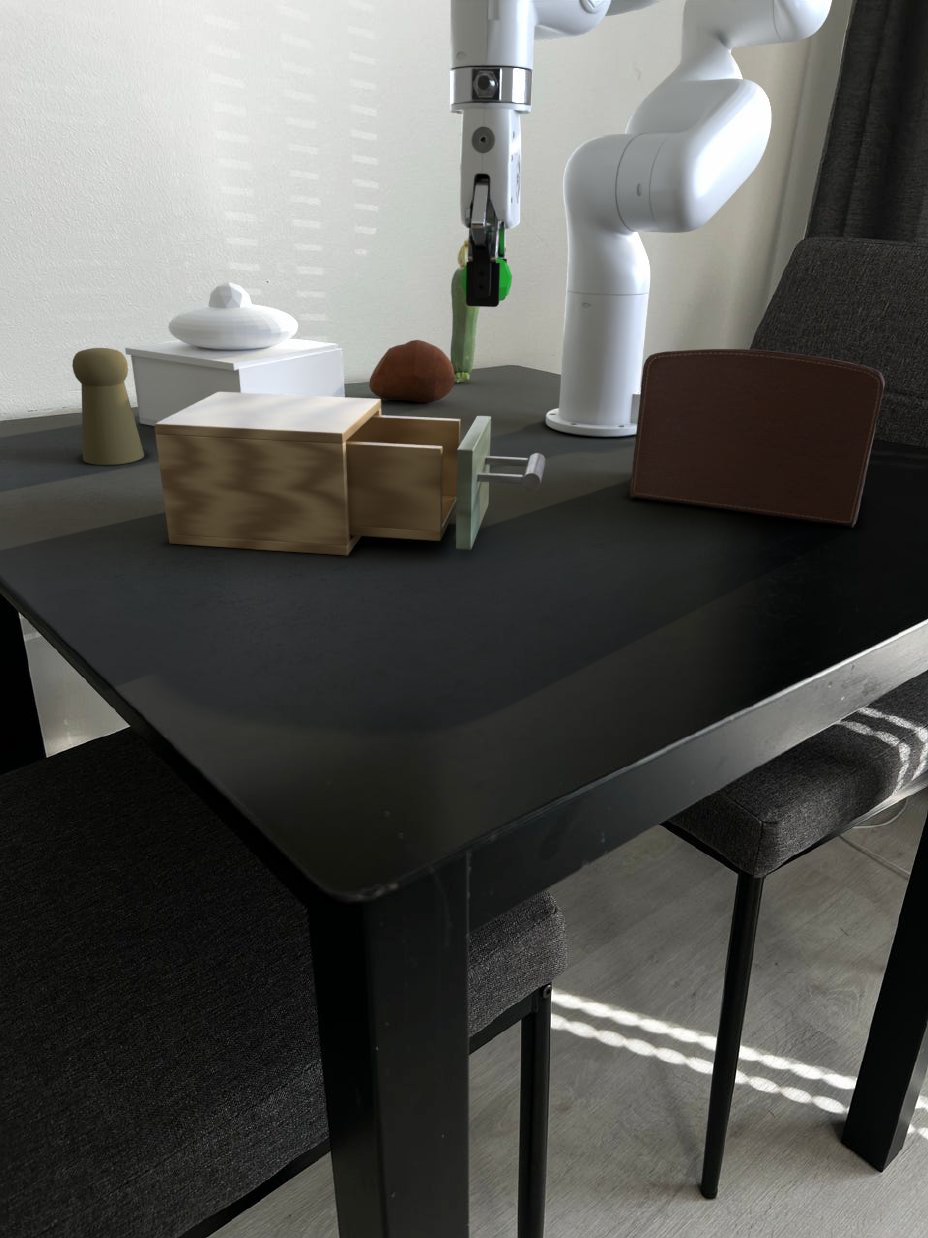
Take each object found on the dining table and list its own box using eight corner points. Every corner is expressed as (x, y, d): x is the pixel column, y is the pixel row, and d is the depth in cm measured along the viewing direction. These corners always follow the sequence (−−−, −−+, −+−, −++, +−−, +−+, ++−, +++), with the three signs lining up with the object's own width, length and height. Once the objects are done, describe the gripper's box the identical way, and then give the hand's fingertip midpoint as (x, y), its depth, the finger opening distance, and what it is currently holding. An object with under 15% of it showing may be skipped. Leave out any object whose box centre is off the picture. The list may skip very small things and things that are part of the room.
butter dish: (345, 416, 115) (340, 281, 108) (241, 445, 101) (228, 293, 94) (244, 399, 123) (233, 273, 116) (135, 423, 109) (116, 282, 102)
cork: (125, 466, 92) (108, 354, 88) (71, 462, 93) (52, 351, 89) (154, 451, 98) (141, 345, 93) (103, 448, 99) (87, 343, 94)
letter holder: (855, 528, 78) (890, 360, 73) (627, 499, 85) (642, 343, 79) (855, 496, 87) (887, 344, 81) (648, 472, 93) (663, 329, 87)
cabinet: (383, 506, 82) (381, 398, 78) (347, 555, 71) (342, 433, 67) (228, 496, 84) (218, 391, 80) (169, 543, 73) (153, 423, 69)
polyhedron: (454, 303, 93) (454, 253, 91) (497, 302, 95) (499, 252, 93) (473, 309, 89) (474, 256, 87) (518, 307, 90) (520, 255, 88)
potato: (373, 393, 128) (372, 334, 124) (455, 395, 127) (456, 336, 124) (366, 405, 121) (364, 342, 117) (453, 407, 120) (454, 344, 117)
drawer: (544, 508, 79) (549, 418, 76) (535, 554, 69) (540, 453, 66) (339, 495, 82) (335, 408, 78) (300, 539, 71) (294, 440, 68)
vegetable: (449, 378, 139) (450, 236, 130) (477, 378, 139) (480, 236, 130) (451, 384, 135) (452, 237, 126) (480, 384, 135) (483, 238, 126)
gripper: (522, 84, 76) (514, 314, 83) (538, 102, 91) (530, 295, 99) (433, 85, 77) (434, 311, 84) (464, 102, 92) (462, 293, 100)
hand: (486, 300), depth 91 cm, fingers closed on polyhedron, 5 cm apart
